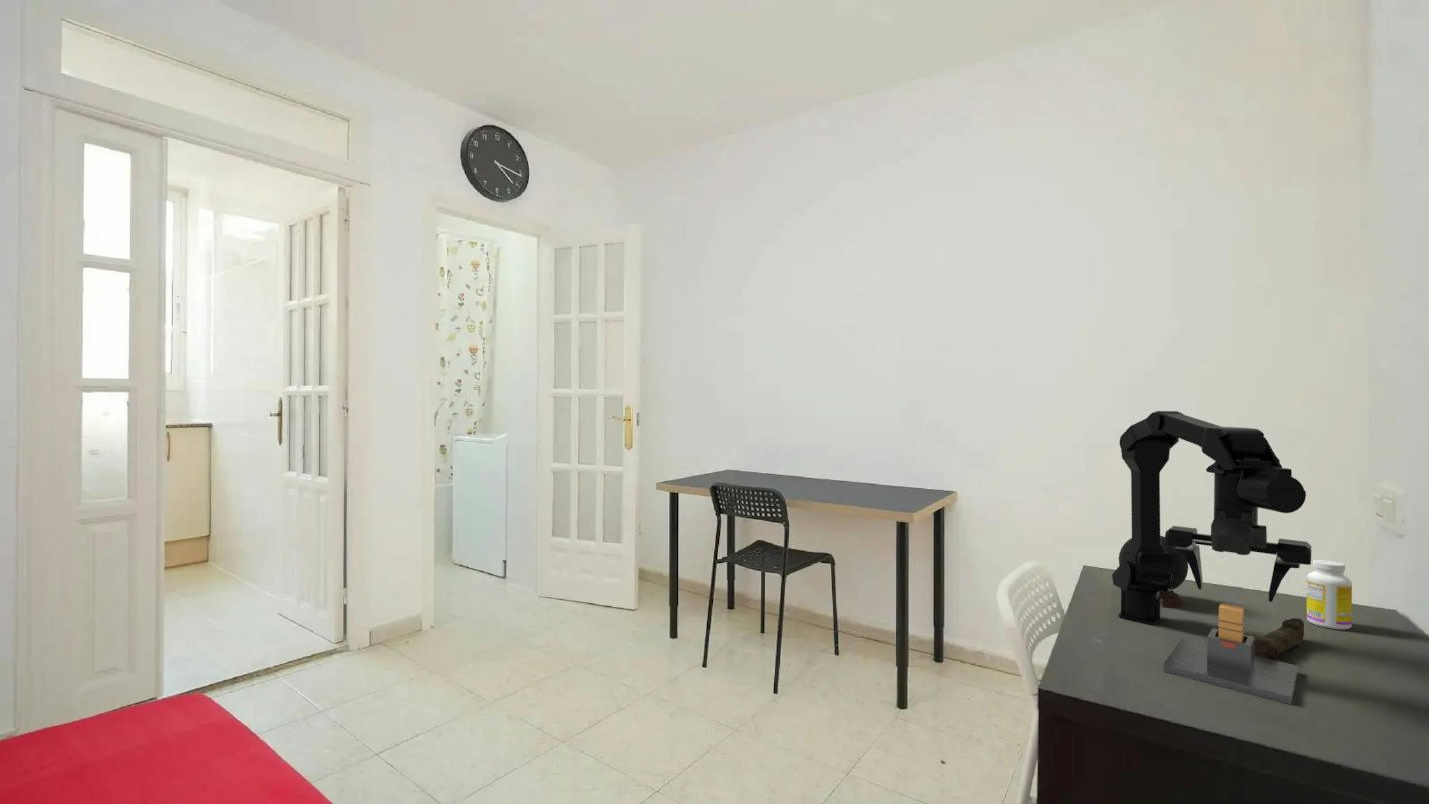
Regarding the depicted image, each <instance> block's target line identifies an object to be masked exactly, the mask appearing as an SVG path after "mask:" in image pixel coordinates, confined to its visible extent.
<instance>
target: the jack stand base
mask: <svg viewBox="0 0 1429 804" xmlns="http://www.w3.org/2000/svg"><path fill="white" fill-rule="evenodd" d="M1218 634H1219V628H1214V627H1212V629H1211V630H1210V632H1209V634H1208V635H1207V641H1206V642H1207V644H1204V643H1199V642H1195V641H1191V640H1187V639H1180V640H1179V642H1178V644H1176V646H1175V647H1174V649H1173V650H1172V651H1171V652H1170V655H1168V657H1167V659H1166V660H1165V661H1164V663H1163V665H1162V666H1163V667H1162V668H1163V669H1162V670H1163V672H1164V673H1169V674H1171V675H1175V676H1181V677H1183V678H1187V679H1191V680H1195V681H1199V682H1202V683H1207V684H1211V685H1213V686H1218V687H1222V688H1226V689H1229V690H1233V691H1236V692H1237V691H1238V692H1241V693H1245V694H1249V695H1253V696H1256V697H1261V698H1263V699H1268V700H1271V701H1275V700H1276V701H1275V702H1280V703H1283V702H1285V703H1284V704H1286V703H1288V705H1290V704H1291V705H1292V703H1293V700H1294V698H1293V697H1294V693H1295V690H1296V684H1297V683H1296V682H1297V679H1298V674H1299V665H1297V664H1292V663H1287V662H1282V661H1279V660H1270V659H1266V658H1262V657H1257V656H1254V646H1255V638H1256V637H1255V636H1252V635H1247V634H1244V643H1242V642H1237V641H1232V640H1228V639H1223V638H1219V637H1218Z"/></svg>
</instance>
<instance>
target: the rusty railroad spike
mask: <svg viewBox="0 0 1429 804" xmlns="http://www.w3.org/2000/svg"><path fill="white" fill-rule="evenodd" d="M1304 637H1305V624H1304V621H1303V620H1302V619H1301V618H1297V617H1296V618H1295V617H1294V618H1292V617H1291V618H1289V619H1285V620H1283V621H1282V622H1281V627H1279V628H1277V629H1275V630H1273V631H1270V632H1269V633H1267V634H1264V635H1262V636H1261V637H1255V646H1254V656H1257V657H1262V658H1266V659H1270V660H1275V661H1277V660H1278V657H1279V656H1280V655H1281V654H1283V653H1285V652H1288V651H1289V650H1290V649H1292V648H1293V647H1295V648H1300V647H1301V646H1302V645H1303V641H1304V640H1303V639H1304Z"/></svg>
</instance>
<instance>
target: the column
mask: <svg viewBox="0 0 1429 804" xmlns="http://www.w3.org/2000/svg"><path fill="white" fill-rule="evenodd" d="M1217 620H1218V625H1217V629H1219V634H1218V637H1219V638H1223V639H1228V640H1232V641H1237V642H1242V643H1244V635H1245V632H1244V631H1245V607H1244V606H1240V605H1233V604H1229V603H1223V602H1222V603H1220V605H1219V606H1218V619H1217Z"/></svg>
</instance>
